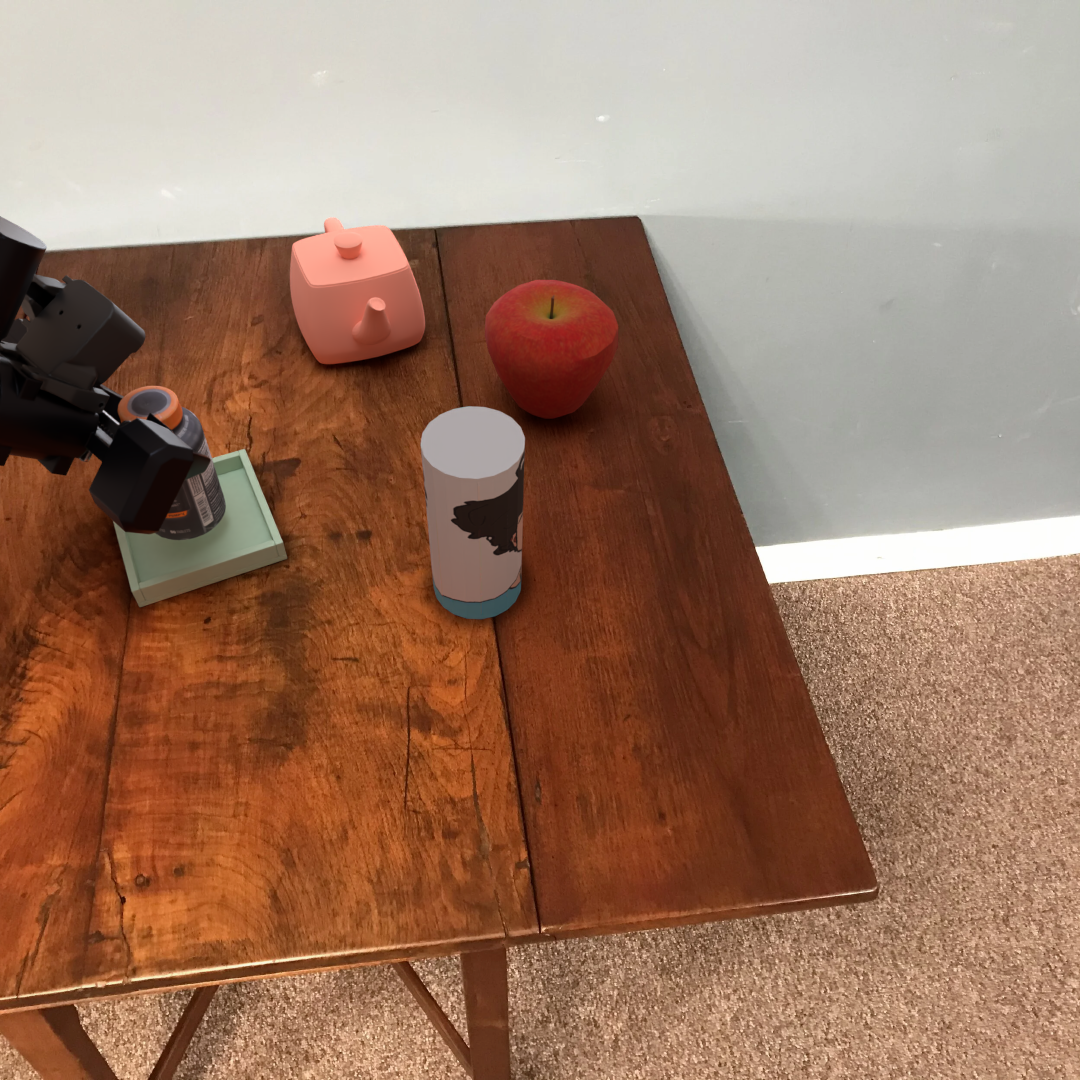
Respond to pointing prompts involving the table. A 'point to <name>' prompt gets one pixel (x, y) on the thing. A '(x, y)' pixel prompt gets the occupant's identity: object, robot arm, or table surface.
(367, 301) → the teapot
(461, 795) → the table surface
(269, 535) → the dish
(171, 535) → the pill bottle
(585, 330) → the apple
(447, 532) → the white cylindrical canister
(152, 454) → the robot arm
